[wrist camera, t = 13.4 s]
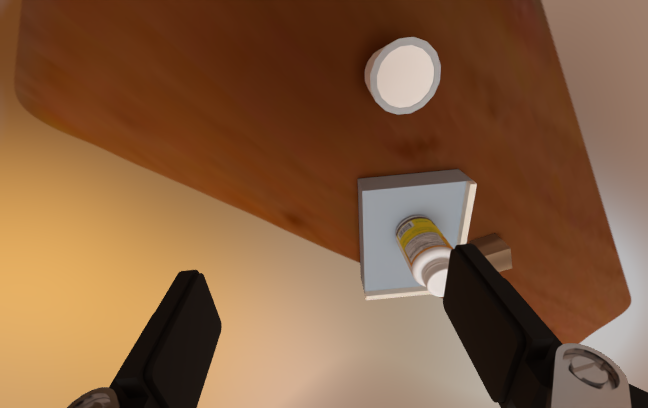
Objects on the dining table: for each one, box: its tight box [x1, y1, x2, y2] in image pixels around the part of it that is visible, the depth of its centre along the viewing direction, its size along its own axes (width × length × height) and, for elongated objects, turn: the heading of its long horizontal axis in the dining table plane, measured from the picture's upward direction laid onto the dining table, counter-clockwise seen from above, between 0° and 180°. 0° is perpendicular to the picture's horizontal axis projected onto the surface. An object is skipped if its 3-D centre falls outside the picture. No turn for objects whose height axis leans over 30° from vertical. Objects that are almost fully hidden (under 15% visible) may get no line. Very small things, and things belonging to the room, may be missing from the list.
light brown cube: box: [470, 233, 512, 272], centre depth 45 cm, size 4×4×4 cm
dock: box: [358, 169, 477, 300], centre depth 42 cm, size 18×14×5 cm
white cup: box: [365, 37, 441, 115], centre depth 31 cm, size 7×7×7 cm
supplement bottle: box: [396, 216, 453, 297], centre depth 35 cm, size 6×6×10 cm
